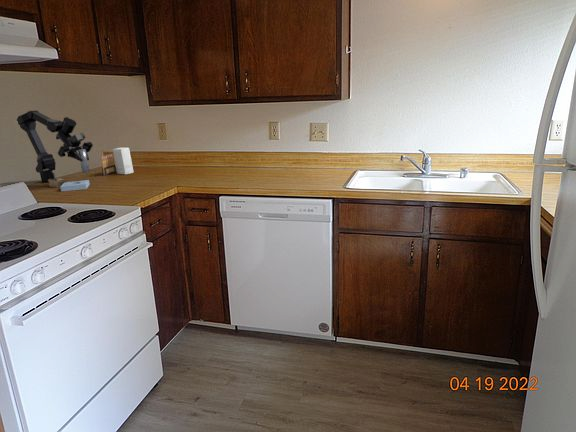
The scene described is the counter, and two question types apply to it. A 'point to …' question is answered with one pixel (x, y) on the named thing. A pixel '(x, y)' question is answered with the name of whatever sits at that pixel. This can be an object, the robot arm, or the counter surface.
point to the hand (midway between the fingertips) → (85, 160)
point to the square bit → (56, 182)
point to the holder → (75, 185)
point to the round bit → (84, 160)
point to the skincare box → (123, 160)
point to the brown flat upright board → (108, 165)
